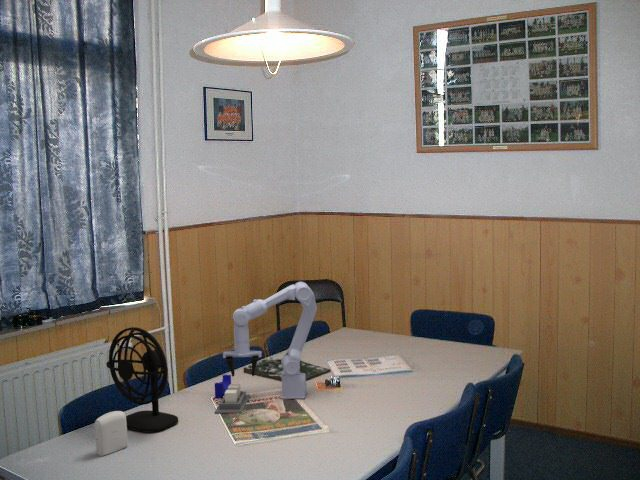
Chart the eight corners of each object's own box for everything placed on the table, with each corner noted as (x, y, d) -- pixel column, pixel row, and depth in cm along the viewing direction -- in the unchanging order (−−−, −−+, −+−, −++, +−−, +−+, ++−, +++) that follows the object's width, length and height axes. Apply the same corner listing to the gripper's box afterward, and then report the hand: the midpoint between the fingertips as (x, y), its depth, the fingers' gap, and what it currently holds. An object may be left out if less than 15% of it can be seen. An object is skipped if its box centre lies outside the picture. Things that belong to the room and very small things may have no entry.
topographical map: (296, 386, 293) (296, 379, 292) (239, 373, 313) (239, 366, 313) (335, 371, 313) (335, 364, 312) (279, 359, 333) (279, 353, 333)
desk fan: (99, 426, 252) (93, 327, 248) (136, 410, 266) (131, 317, 263) (157, 439, 238) (151, 335, 234) (192, 422, 252) (188, 324, 249)
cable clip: (220, 389, 290) (220, 374, 290) (231, 389, 290) (230, 374, 289) (211, 398, 279) (210, 383, 278) (222, 399, 278) (222, 383, 277)
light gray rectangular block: (237, 404, 269) (237, 389, 268) (235, 407, 265) (235, 393, 264) (227, 404, 269) (226, 389, 269) (225, 407, 265) (224, 393, 265)
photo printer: (102, 457, 224) (99, 418, 223) (94, 454, 227) (92, 416, 226) (130, 447, 232) (128, 409, 231) (122, 444, 235) (120, 407, 233)
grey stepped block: (250, 395, 280) (249, 380, 280) (242, 413, 260) (241, 397, 260) (224, 395, 281) (224, 380, 280) (214, 413, 261) (213, 397, 260)
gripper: (220, 343, 270) (222, 379, 272) (259, 342, 269) (260, 378, 271) (224, 339, 277) (225, 373, 279) (261, 338, 276) (263, 372, 278)
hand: (243, 375), depth 275 cm, fingers open, 7 cm apart
